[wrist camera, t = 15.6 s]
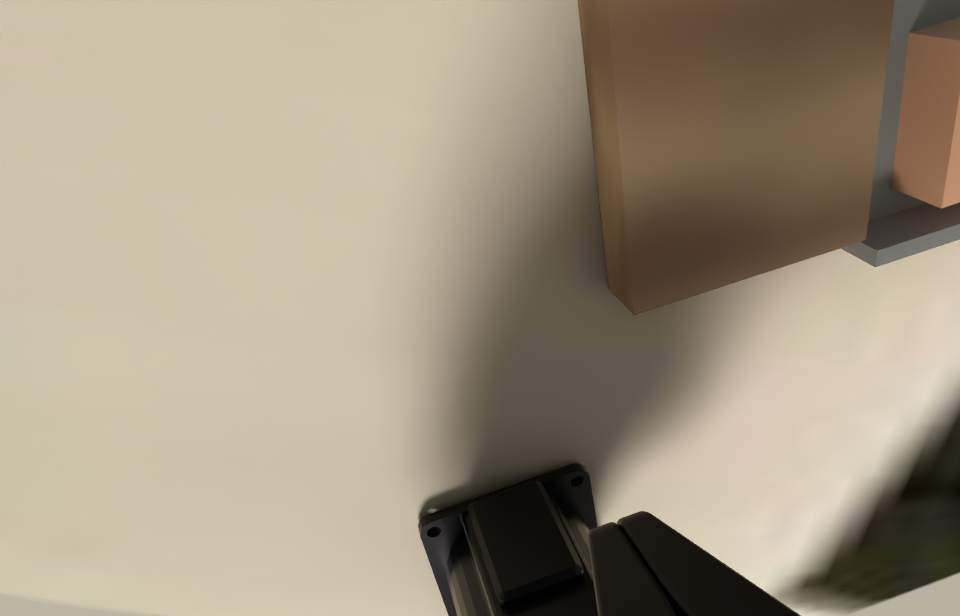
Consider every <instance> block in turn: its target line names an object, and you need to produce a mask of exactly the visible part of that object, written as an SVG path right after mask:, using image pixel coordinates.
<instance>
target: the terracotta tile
mask: <svg viewBox="0 0 960 616" xmlns="http://www.w3.org/2000/svg"><path fill="white" fill-rule="evenodd" d="M891 188H892V189H895V190H897V191H899V192H902V193H904V194H907V195H909V196H912V197H914V198H917V199H919V200H922V201H924V202H927V203H929V204H931V205H934V206H936V207H939V208H941V209H942V208H945V207H948V206H950V205H953V204H956V203H959V202H960V17H959V18H955V19H952V20H949V21H946V22H942V23H939V24H936V25H933V26H930V27H926V28H923V29H920V30H917V31H914V32H910V33H909V36H908V45H907V54H906V63H905V71H904V80H903V89H902V98H901V107H900V116H899V125H898V134H897V142H896V151H895V160H894V169H893V178H892V187H891Z"/></svg>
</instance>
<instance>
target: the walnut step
mask: <svg viewBox="0 0 960 616" xmlns="http://www.w3.org/2000/svg"><path fill="white" fill-rule="evenodd" d="M894 3H895V0H578V6H579V16H580V25H581V34H582V44H583V53H584V62H585V72H586V81H587V91H588V100H589V109H590V119H591V128H592V137H593V147H594V156H595V165H596V175H597V184H598V193H599V203H600V212H601V221H602V231H603V240H604V249H605V259H606V268H607V278H608V287H609V289H610V291H611V292H612V293H613V294H614V295H615V296H616V297H617V298H618V299H619V300H620V301H621V302H622V303H623V304H624V305H625V306H626V307H627V308H628V309H629V310H630V311H631V312H632V313H633V315H636V314H639V313H642V312H645V311H648V310H651V309H654V308H657V307H660V306H663V305H667V304H670V303H673V302H676V301H679V300H682V299H685V298H688V297H691V296H694V295H697V294H700V293H704V292H707V291H710V290H713V289H716V288H719V287H722V286H725V285H728V284H731V283H734V282H737V281H741V280H744V279H747V278H750V277H753V276H756V275H759V274H762V273H765V272H768V271H771V270H775V269H778V268H781V267H784V266H787V265H790V264H793V263H796V262H799V261H802V260H805V259H808V258H812V257H815V256H818V255H821V254H824V253H827V252H830V251H833V250H836V249H839V248H842V247H845V246H849V245H852V244H855V243H858V242H861V241H864V240H866V235H867V227H868V218H869V210H870V202H871V193H872V185H873V177H874V168H875V160H876V152H877V144H878V135H879V127H880V119H881V110H882V102H883V94H884V85H885V77H886V69H887V61H888V52H889V44H890V36H891V27H892V19H893V11H894Z"/></svg>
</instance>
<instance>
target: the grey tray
mask: <svg viewBox="0 0 960 616" xmlns="http://www.w3.org/2000/svg"><path fill="white" fill-rule="evenodd" d="M959 17H960V0H895V3H894V11H893V19H892V27H891V36H890V44H889V52H888V61H887V69H886V77H885V85H884V94H883V102H882V110H881V119H880V127H879V135H878V144H877V152H876V160H875V168H874V177H873V185H872V193H871V202H870V210H869V218H868V227H867V235H866V240H864V241H861V242H858V243H855V244H852V245H849V246H845V247H842V248H841V249H843V250H845V251H847V252H849V253H850V254H852V255H854V256H856V257H858V258H860V259H861V260H863V261H865V262H867V263H869V264H871V265H872V266H874V267H877V266H880V265H883V264H886V263H889V262H892V261H895V260H898V259H901V258H904V257H908V256H911V255H914V254H917V253H920V252H923V251H926V250H929V249H932V248H935V247H938V246H941V245H944V244H947V243H950V242H953V241H956V240H959V239H960V202H959V203H956V204H953V205H950V206H948V207H945V208H942V209H941V208H939V207H936V206H934V205H931V204H929V203H927V202H924V201H922V200H919V199H917V198H914V197H912V196H909V195H907V194H904V193H902V192H899V191H897V190H895V189H892V188H891V187H892V178H893V169H894V160H895V151H896V142H897V134H898V125H899V116H900V107H901V98H902V89H903V80H904V71H905V63H906V54H907V45H908V36H909V33H910V32H914V31H917V30H920V29H923V28H926V27H930V26H933V25H936V24H939V23H942V22H946V21H949V20H952V19H955V18H959Z"/></svg>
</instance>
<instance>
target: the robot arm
mask: <svg viewBox="0 0 960 616" xmlns="http://www.w3.org/2000/svg"><path fill="white" fill-rule="evenodd" d="M576 476H577V477H576ZM574 477H576V478H574ZM573 478H574V479H573ZM432 527H435V528H434V529H430V528H432ZM418 528H419V532H420V536H421V539H422V542H423V545H424V548H425V551H426V553H427V556H428V559H429V562H430V565H431V567H432V570H433V573H434V576H435V579H436V581H437V584H438V587H439V590H440V593H441V595H442V598H443V601H444V604H445V607H446V609H447V612H448V615H449V616H801V615H799V614H798V613H796V612H795V611H793V610H792V609H790V608H789V607H787V606H786V605H784V604H783V603H781V602H780V601H778V600H777V599H776V598H774V597H773V596H771V595H770V594H768V593H767V592H765V591H764V590H762V589H761V588H759V587H758V586H756V585H755V584H753V583H752V582H750V581H749V580H748V579H746V578H745V577H743V576H742V575H740V574H739V573H737V572H736V571H734V570H733V569H731V568H730V567H728V566H727V565H725V564H724V563H722V562H721V561H720V560H718V559H717V558H715V557H714V556H712V555H711V554H709V553H708V552H706V551H705V550H703V549H702V548H700V547H699V546H697V545H696V544H694V543H693V542H692V541H690V540H689V539H687V538H686V537H684V536H683V535H681V534H680V533H678V532H677V531H675V530H674V529H672V528H671V527H669V526H668V525H667V524H665V523H664V522H662V521H661V520H659V519H658V518H656V517H655V516H653V515H652V514H650V513H648V512H645V511H640V512H637V513H634V514H632V515H629V516H626V517H624V518H621V519H619V520H618V522H617V524H616V523H614V522H610V523H607V524H604V525H602V526H599V527H597V523H596V516H595V509H594V503H593V496H592V489H591V483H590V477H589V474H588V472H587V471H586V469H585V467H584V466H583V465H581V464H577V463H576V464H571V465H568V466H565V467H562V468H560V469H557V470H554V471H551V472H548V473H545V474H543V475H540V476H537V477H534V478H531V479H528V480H525V481H523V482H520V483H517V484H514V485H511V486H508V487H505V488H503V489H500V490H497V491H494V492H491V493H488V494H486V495H483V496H480V497H477V498H474V499H471V500H468V501H466V502H463V503H460V504H457V505H454V506H451V507H448V508H446V509H443V510H440V511H437V512H434V513H431V514H429V515H427V516H425V517H423V518H422V519H421V520H420V522H419V524H418Z"/></svg>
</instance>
